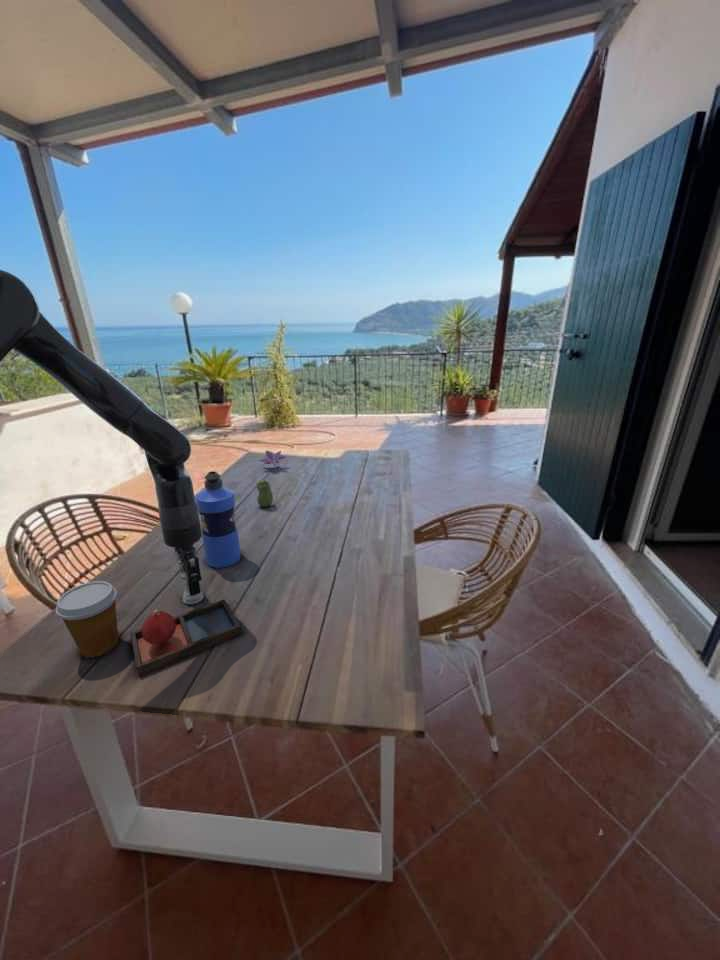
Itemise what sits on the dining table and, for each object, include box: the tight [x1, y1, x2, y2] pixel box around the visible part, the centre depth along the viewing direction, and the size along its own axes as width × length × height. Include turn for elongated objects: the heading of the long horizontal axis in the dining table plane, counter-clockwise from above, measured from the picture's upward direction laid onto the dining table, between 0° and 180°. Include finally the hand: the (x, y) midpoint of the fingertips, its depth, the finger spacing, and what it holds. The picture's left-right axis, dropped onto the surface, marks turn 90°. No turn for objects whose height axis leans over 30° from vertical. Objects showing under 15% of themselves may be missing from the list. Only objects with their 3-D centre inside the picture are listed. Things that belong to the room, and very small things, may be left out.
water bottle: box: [195, 471, 242, 569], centre depth 102 cm, size 9×9×25 cm
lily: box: [259, 450, 288, 473], centre depth 177 cm, size 12×12×10 cm
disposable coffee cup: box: [55, 580, 119, 658], centre depth 74 cm, size 10×10×12 cm
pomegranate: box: [141, 609, 176, 645], centre depth 74 cm, size 6×6×8 cm
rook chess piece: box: [181, 572, 205, 606], centre depth 89 cm, size 4×4×8 cm
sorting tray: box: [129, 598, 242, 677], centre depth 78 cm, size 19×11×2 cm, turn 125°
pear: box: [256, 479, 274, 508], centre depth 138 cm, size 6×5×10 cm
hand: (191, 585), depth 89 cm, fingers open, 6 cm apart
